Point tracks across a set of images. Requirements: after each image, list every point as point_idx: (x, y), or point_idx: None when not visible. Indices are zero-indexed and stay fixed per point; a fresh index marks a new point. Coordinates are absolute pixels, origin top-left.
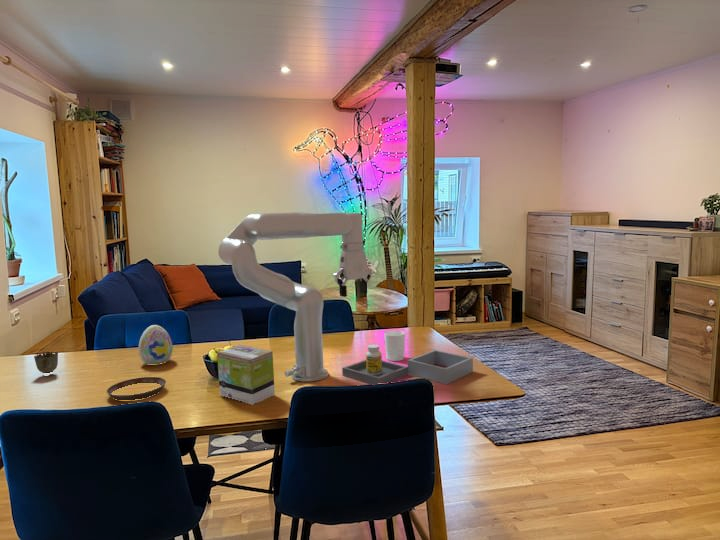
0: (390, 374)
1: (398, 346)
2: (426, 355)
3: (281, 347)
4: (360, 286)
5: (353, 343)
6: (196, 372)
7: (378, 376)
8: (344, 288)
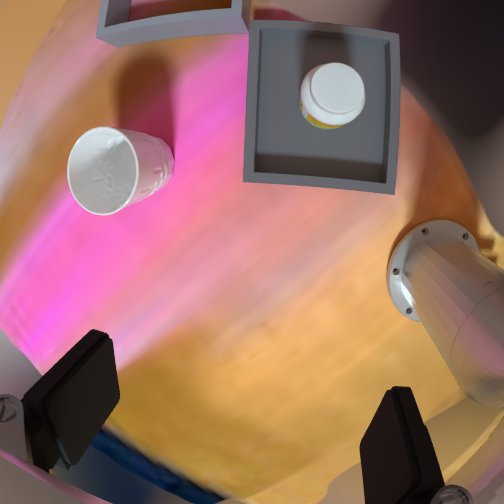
0: (342, 25)
1: (139, 133)
2: (150, 19)
3: (275, 464)
4: (93, 433)
5: (128, 360)
6: (476, 447)
7: None
8: (425, 462)
